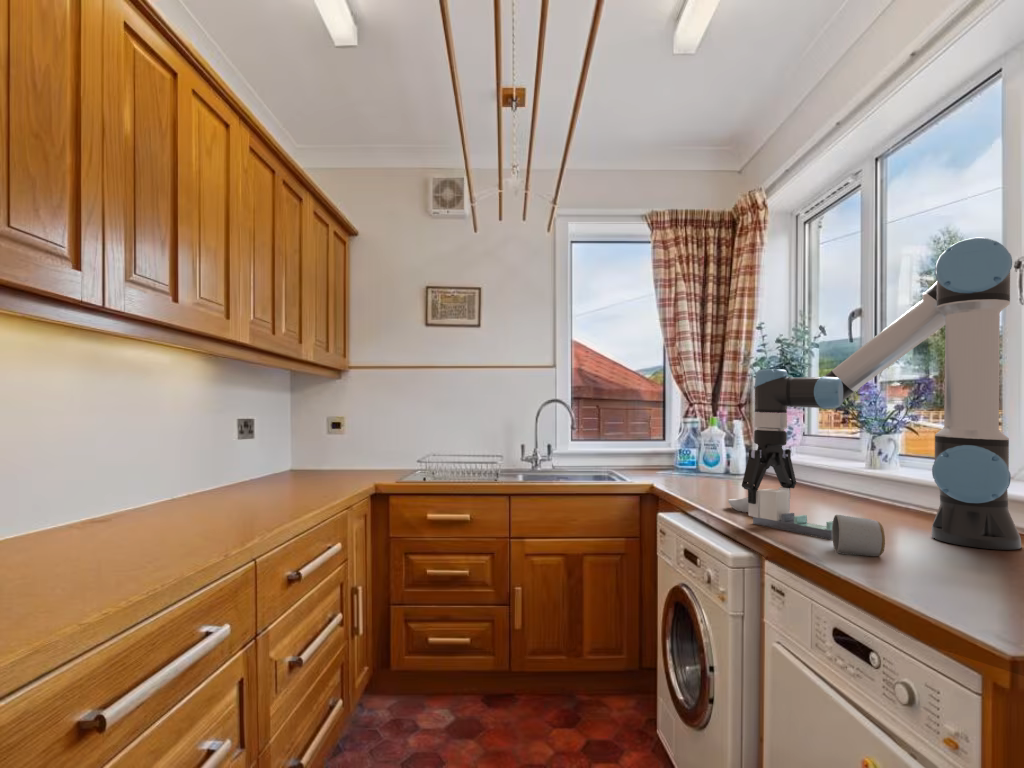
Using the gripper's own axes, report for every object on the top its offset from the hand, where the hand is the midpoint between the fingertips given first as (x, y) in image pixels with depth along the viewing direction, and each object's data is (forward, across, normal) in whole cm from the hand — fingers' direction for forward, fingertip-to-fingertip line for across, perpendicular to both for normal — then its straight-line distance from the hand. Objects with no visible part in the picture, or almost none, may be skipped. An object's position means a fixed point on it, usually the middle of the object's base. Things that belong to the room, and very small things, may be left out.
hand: (769, 514), depth 136 cm
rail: (+2, 0, +7) cm, 7 cm away
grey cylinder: (+2, +9, +26) cm, 27 cm away
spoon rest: (+4, -12, -11) cm, 17 cm away
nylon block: (+1, 0, +1) cm, 1 cm away
